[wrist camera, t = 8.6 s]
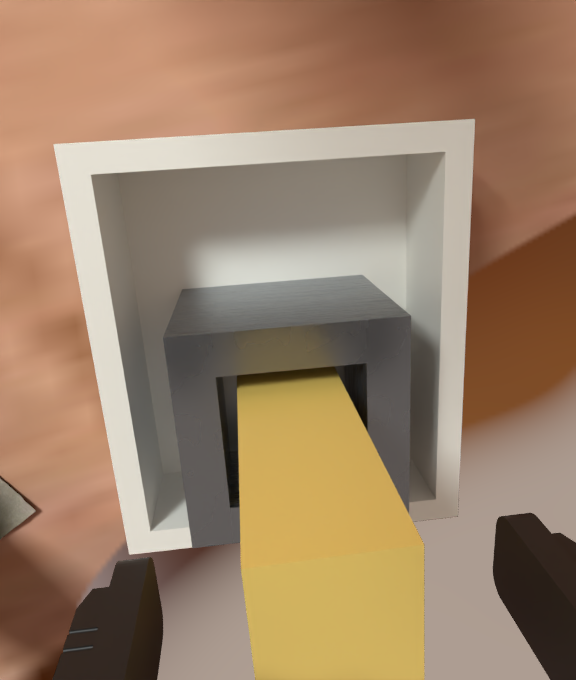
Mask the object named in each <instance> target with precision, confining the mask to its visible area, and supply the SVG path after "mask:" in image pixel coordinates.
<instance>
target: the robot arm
mask: <svg viewBox="0 0 576 680" xmlns="http://www.w3.org/2000/svg"><path fill="white" fill-rule="evenodd" d="M493 576H494V581H495V586H496V589H497V591H498V594H499V596H500V598H501V600H502V601H503V603H504V605H505V606H506V608H507V609H508V611H509V613H510V614H511V616H512V618H513V619H514V621H515V622H516V624H517V626H518V627H519V629H520V631H521V632H522V634H523V636H524V637H525V639H526V641H527V642H528V644H529V645H530V647H531V649H532V650H533V652H534V654H535V655H536V657H537V658H538V660H539V662H540V663H541V665H542V667H543V668H544V670H545V671H546V673H547V674H548V676H549V678H550V680H576V543H575V542H574V541H572V540H570V539H569V538H567V537H566V536H564V535H563V534H561V533H554V534H551V533H550V531H549V530H548V529H547V528H546V527H545V526H544V524H543V523H542V522H541V521H540V520H539V519H538V517H536V515H534V514H532V513H526V514H517V515H509V516H501V517H499V518H498V520H497V524H496V534H495V548H494V561H493ZM162 639H163V615H162V607H161V601H160V595H159V590H158V584H157V578H156V573H155V567H154V562H153V559H152V558H151V557H148V558H140V559H132V560H123V561H118V562H117V563H116V565H115V569H114V572H113V576H112V580H111V583H110V586H109V587H105V588H97V589H92V591H91V592H90V593H89V594H88V596H87V597H86V598H85V599H84V600H83V602H82V603H81V604H80V605H79V607H78V608H77V609H76V612H75V615H74V618H73V621H72V624H71V627H70V630H69V635H68V636H67V639H66V642H65V645H64V648H63V653H62V654H61V656H60V659H59V662H58V665H57V668H56V671H55V674H54V677H53V680H157V676H158V669H159V662H160V655H161V647H162Z"/></svg>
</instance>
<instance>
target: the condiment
mask: <svg viewBox="0 0 576 680" xmlns="http://www.w3.org/2000/svg"><path fill="white" fill-rule="evenodd" d="M34 512H35V510H34V509H33V508H32V507H31V506H30V505H29V504H28V503H27V502H25V501H24V500H23V498H22V497H21V496H20V495H19V494H18V493H16V492H15V491H14V490H13V489H12V488H11V487H10V486H9V485H8V484H6V483H5V482H4V481H2V480H1V479H0V539H1V538H2V537H4V536H5V535H6V534H8V533H9V532H10V531H11V530H12V529H14V528H15V527H16V526H18V525H19V524H21V523H22V522H23V521H24V520H25V519H27V518H28V517H29V516H30V515H32V514H33V513H34Z"/></svg>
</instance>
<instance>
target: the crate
mask: <svg viewBox="0 0 576 680" xmlns="http://www.w3.org/2000/svg"><path fill="white" fill-rule="evenodd" d="M474 133H475V119H464V120H447V121H430V122H414V123H397V124H380V125H364V126H347V127H331V128H314V129H297V130H281V131H264V132H248V133H231V134H214V135H198V136H181V137H165V138H148V139H131V140H115V141H98V142H82V143H65V144H54V150H55V155H56V160H57V166H58V171H59V177H60V182H61V187H62V193H63V198H64V204H65V209H66V215H67V220H68V225H69V231H70V236H71V242H72V247H73V252H74V258H75V263H76V269H77V274H78V279H79V285H80V290H81V296H82V301H83V307H84V312H85V317H86V323H87V328H88V334H89V339H90V344H91V350H92V355H93V361H94V366H95V372H96V377H97V382H98V388H99V393H100V399H101V404H102V409H103V415H104V420H105V426H106V431H107V437H108V442H109V447H110V453H111V458H112V464H113V469H114V474H115V480H116V485H117V491H118V496H119V501H120V507H121V512H122V518H123V523H124V529H125V534H126V539H127V545H128V550H129V554H139V553H147V552H156V551H165V550H174V549H181V548H190V547H192V542H191V535H190V528H189V521H188V513H187V506H186V499H185V492H184V485H183V478H182V471H181V463H180V456H179V449H178V442H177V435H176V428H175V421H174V413H173V406H172V399H171V392H170V385H169V378H168V371H167V364H166V356H165V349H164V342H163V336H164V334H165V331H166V329H167V326H168V324H169V321H170V319H171V316H172V314H173V311H174V309H175V306H176V304H177V301H178V299H179V296H180V294H181V291H182V289H191V288H204V287H216V286H228V285H241V284H253V283H266V282H278V281H290V280H303V279H315V278H328V277H340V276H352V275H363V276H364V277H366V278H367V279H368V280H369V281H370V282H372V283H373V284H374V285H375V286H376V287H377V288H379V289H380V290H381V291H382V292H383V293H385V294H386V295H387V296H388V297H389V298H391V299H392V300H393V301H394V302H395V303H396V304H398V305H399V306H400V307H401V308H402V309H404V310H405V311H406V312H407V313H408V314H409V315H411V381H410V480H409V515H410V517H411V519H412V521H413V522H416V521H424V520H433V519H442V518H449V517H458V502H459V480H460V479H459V478H460V457H461V456H460V455H461V434H462V410H463V387H464V364H465V339H466V317H467V295H468V272H469V249H470V225H471V202H472V179H473V156H474Z"/></svg>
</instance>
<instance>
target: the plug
mask: <svg viewBox="0 0 576 680" xmlns="http://www.w3.org/2000/svg"><path fill="white" fill-rule="evenodd" d="M237 409H238V454H239V500H240V544H241V573H242V581H243V588H244V595H245V603H246V611H247V619H248V626H249V634H250V642H251V650H252V657H253V665H254V673H255V680H424V543H423V541H422V539H421V537H420V535H419V533H418V531H417V529H416V527H415V525H414V523H413V521H412V519H411V517H410V515H409V513H408V511H407V509H406V507H405V505H404V503H403V501H402V499H401V498H400V496H399V494H398V492H397V490H396V488H395V486H394V484H393V482H392V480H391V478H390V476H389V474H388V472H387V470H386V468H385V466H384V464H383V462H382V460H381V458H380V456H379V454H378V452H377V450H376V448H375V446H374V444H373V442H372V440H371V438H370V436H369V434H368V432H367V430H366V428H365V426H364V424H363V422H362V420H361V418H360V416H359V414H358V412H357V410H356V409H355V407H354V405H353V403H352V401H351V399H350V397H349V395H348V393H347V391H346V389H345V387H344V385H343V383H342V381H341V379H340V377H339V375H338V373H337V371H336V369H335V367H334V366H332V367H321V368H310V369H299V370H289V371H278V372H267V373H256V374H246V375H237Z"/></svg>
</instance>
